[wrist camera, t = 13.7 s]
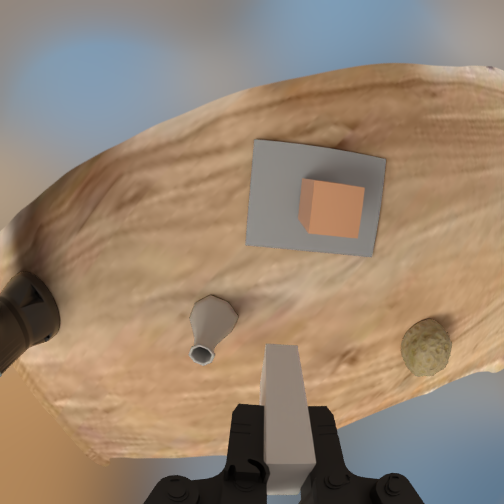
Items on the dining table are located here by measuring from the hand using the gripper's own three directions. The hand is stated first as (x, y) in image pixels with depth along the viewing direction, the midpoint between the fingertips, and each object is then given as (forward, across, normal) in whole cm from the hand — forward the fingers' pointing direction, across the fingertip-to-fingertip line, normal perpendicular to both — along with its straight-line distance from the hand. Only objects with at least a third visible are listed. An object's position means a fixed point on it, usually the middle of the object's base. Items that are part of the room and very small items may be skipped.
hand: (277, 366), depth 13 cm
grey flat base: (+26, +6, +6) cm, 28 cm away
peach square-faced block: (+24, +6, +6) cm, 26 cm away
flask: (+27, -7, -13) cm, 31 cm away
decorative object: (+27, +30, -16) cm, 43 cm away
